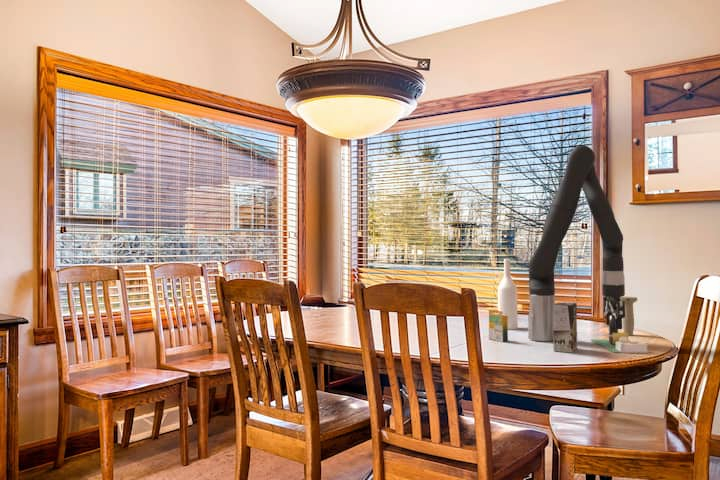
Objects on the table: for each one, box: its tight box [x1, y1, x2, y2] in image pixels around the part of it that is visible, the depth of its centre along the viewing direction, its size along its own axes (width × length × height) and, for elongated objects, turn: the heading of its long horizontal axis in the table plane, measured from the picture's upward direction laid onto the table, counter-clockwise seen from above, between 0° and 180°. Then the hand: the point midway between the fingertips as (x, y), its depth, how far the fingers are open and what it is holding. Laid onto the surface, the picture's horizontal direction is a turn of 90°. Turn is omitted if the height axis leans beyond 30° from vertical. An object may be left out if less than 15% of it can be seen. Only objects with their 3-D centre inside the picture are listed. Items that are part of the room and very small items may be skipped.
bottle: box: [497, 258, 519, 331], centre depth 234 cm, size 8×8×30 cm
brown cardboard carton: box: [608, 335, 615, 345], centre depth 195 cm, size 6×2×3 cm, turn 86°
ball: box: [618, 337, 631, 344], centre depth 190 cm, size 4×4×4 cm
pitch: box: [591, 339, 647, 354], centre depth 193 cm, size 11×22×1 cm, turn 176°
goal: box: [616, 341, 648, 354], centre depth 184 cm, size 9×4×3 cm, turn 86°
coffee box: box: [553, 302, 578, 354], centre depth 188 cm, size 9×6×16 cm
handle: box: [620, 296, 638, 337], centre depth 215 cm, size 5×6×15 cm
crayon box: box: [488, 309, 509, 343], centre depth 207 cm, size 7×3×12 cm, turn 31°
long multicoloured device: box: [608, 314, 629, 344], centre depth 197 cm, size 8×5×9 cm, turn 176°
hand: (614, 327), depth 199 cm, fingers open, 8 cm apart
